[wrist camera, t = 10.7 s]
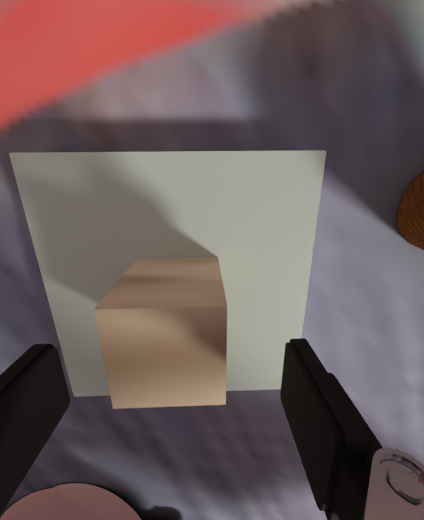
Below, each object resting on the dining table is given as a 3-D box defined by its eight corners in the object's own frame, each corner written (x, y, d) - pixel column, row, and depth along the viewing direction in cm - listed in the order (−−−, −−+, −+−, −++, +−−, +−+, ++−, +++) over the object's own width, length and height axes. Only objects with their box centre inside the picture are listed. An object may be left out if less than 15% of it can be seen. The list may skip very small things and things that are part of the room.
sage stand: (282, 360, 21) (294, 388, 18) (91, 367, 21) (73, 396, 18) (304, 155, 16) (326, 150, 13) (45, 158, 15) (8, 152, 12)
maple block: (218, 325, 16) (225, 404, 10) (145, 327, 16) (113, 408, 10) (217, 257, 14) (227, 306, 9) (137, 258, 14) (93, 309, 9)
